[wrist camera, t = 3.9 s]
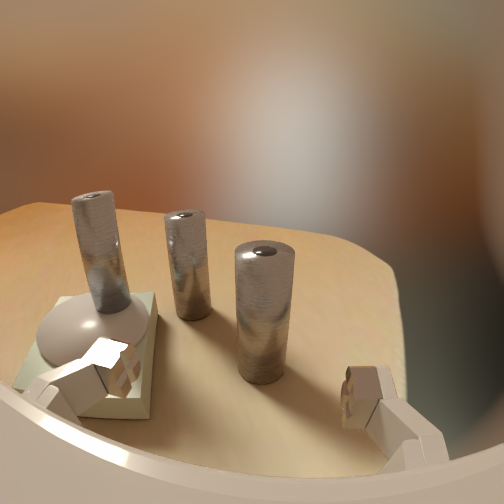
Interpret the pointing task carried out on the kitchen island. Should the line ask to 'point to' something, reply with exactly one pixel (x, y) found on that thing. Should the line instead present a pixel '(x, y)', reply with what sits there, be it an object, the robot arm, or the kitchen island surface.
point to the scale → (82, 339)
